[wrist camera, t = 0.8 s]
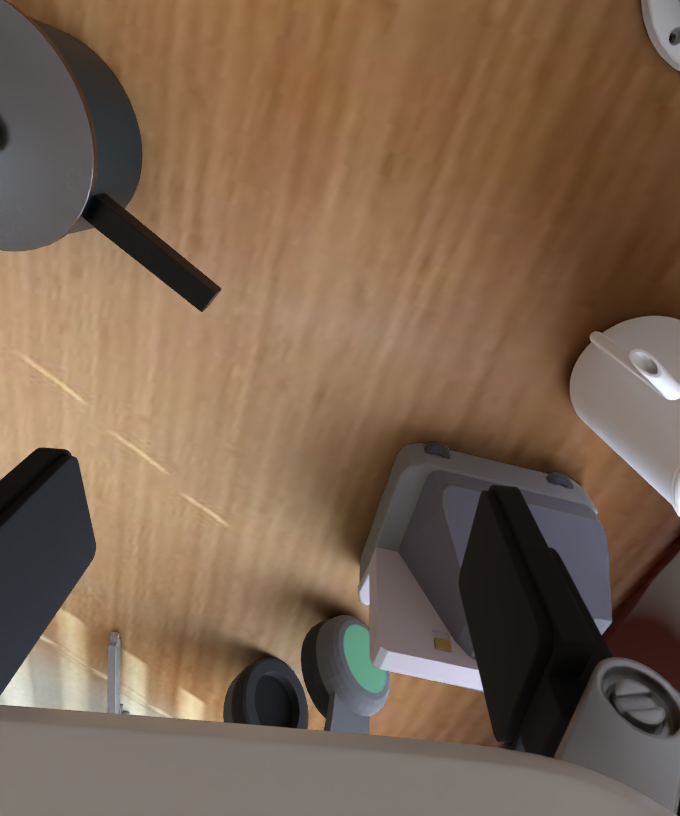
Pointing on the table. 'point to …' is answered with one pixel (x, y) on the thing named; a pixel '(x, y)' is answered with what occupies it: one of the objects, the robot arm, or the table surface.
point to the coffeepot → (635, 396)
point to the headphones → (314, 683)
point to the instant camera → (460, 556)
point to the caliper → (114, 674)
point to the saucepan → (73, 152)
